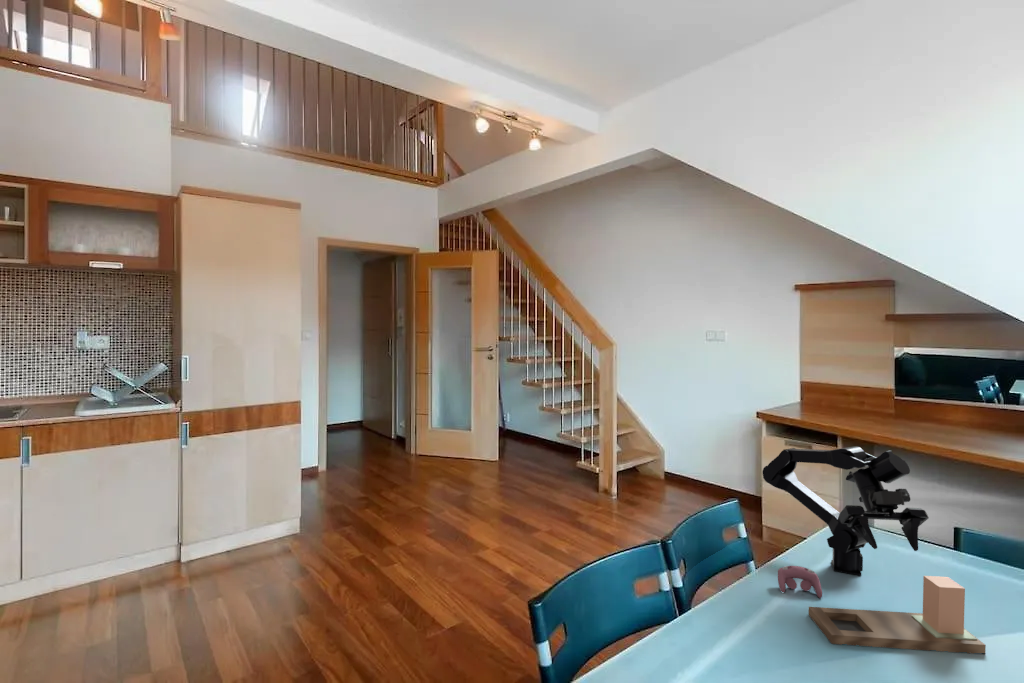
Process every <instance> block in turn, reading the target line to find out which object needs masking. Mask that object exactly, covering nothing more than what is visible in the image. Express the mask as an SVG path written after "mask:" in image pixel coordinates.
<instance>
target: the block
mask: <svg viewBox="0 0 1024 683" xmlns="http://www.w3.org/2000/svg"><path fill="white" fill-rule="evenodd" d="M922 581H923V582H922V585H923V587H922V588H923V589H922V590H923V591H922V592H923V593H922V613H923V620H924V621H925V622H927V623H928V624H929V625H930V626H931V627H932V628H934V629H935V630H936V631H937V632H938V633H954V634H964V628H965V601H966V599H965V598H966V588H965V587H964V586H962V585H961V584H959V583H958V582H956V581H955V580H953V579H952V578H951V577H949V576H938V575H935V576H934V575H923V580H922Z"/></svg>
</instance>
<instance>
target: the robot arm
mask: <svg viewBox="0 0 1024 683" xmlns="http://www.w3.org/2000/svg"><path fill="white" fill-rule="evenodd" d="M797 463H809V464H826V465H829V466H831V467H833V468H838V469H841V470H846V471H847V470H850V471H849V472H848V474H847V475H846V477H845V480H846V481H847V482H851V483H855V486H856V488H857V491H858V493H859V495H860V497H859V498H858V500H859V502H860V503H863V506H864V507H863V506H861V505H852V504H851V505H850V504H847V505H845V506H844V508H842V510H840V512H839V511H838V510H837V509H836V508H834V507H833V506H832V505H831V504H829V503H828V502H827V501H825V500H824V499H822V497H820V496H819V495H817V493H815V492H813V490H811V489H810V488H808V487H807V486H806V485H804V484H803V483H802V482H801V481H799V479H798V477H797V474H796V472H794V471H795V469H796V468H797ZM853 469H857V470H855V471H854V472H853V471H851V470H853ZM910 471H911V470H910V467H909V465H908V463H907V462H906V460H904V459H903V458H902V457H900V456H898V455H896V454H894V452H892V450H886V451H884V452H882V453H881V454H880V455H879V456H874V455H872V454H869V453H867V452H865V450H864V449H862V448H861V447H860V446H849V447H841V448H836V449H835V448H834V449H814V448H813V449H811V448H809V449H808V448H795V447H792V448H785V449H783V450H782V451H780V452H779V454H778V455H777V456H776V457H775V458H774V459H773V460H771V461H770V462H769V463H768V464H767V465H766V466H764V467H763V469H762V479H763V480H764V481H765V482H766V483H768V484H769V485H771V486H772V487H773V488H775V489H779V490H781V491H784V492H787V493H788V494H789V495H791V496H792V497H793V498H794V499H795V500H797V501H798V502H799V503H800V504H801V505H803V506H804V507H806V509H808V510H810V512H812V513H813V514H814V515H815V516H816V517H817V518H819V520H822V521H823V522H824V523H825V524H826V525H827V526H828V528H829V530H830V532H831V534H832V536H830V537H828V538H826V541H827V544H828V547H829V548H832V559H831V566H832V569H833V571H835V572H839V573H845V574H849V575H850V574H851V575H854V576H862V572H863V571H864V570H863V568H864V567H863V566H864V564H863V563H864V560H863V559H864V556H863V554H862V552H861V549H863V548H865V546H866V544H868V545H870V547H871V548H872V549H874V550H877V549H878V545H877V544H878V543H877V541H876V539H875V536H874V534H873V532H872V530H871V529H872V528H870V525H869V520H880V521H881V520H886V521H898V522H899V524H900V525H901V527H900V529H901V530H902V533H903V534H904V536H905V538H906V540H907V541H908V543H909V544H910V547H911V548H912V549H913V551H914V552H918V551H919V533H918V532H919V527H920V526H922V525H923V523H925V522H926V521H927V520H929V516H928V514H927V512H926V510H925V509H923V508H921V507H905V508H904V509H903V510H902V511H901V512H897V511H896V510H897V509H898V508H899V506H901V505H902V506H905V503H908V502H911V495H910V493H909V491H908V490H907V488H896V489H895V490H888V489H887V488H886V489H885V488H884V486H883V484H882V482H883V483H884V484H891V483H893V482H895V481H897V480H899V479H901V478H904V477H905V476H907V475H910V473H911V472H910Z"/></svg>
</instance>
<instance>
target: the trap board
mask: <svg viewBox="0 0 1024 683" xmlns="http://www.w3.org/2000/svg"><path fill="white" fill-rule="evenodd" d="M808 616H809V617H810V619H811V620H812V621H813V622H814V623H815V625H816V626H817V628H818V629H819V630H820V631H821V632H822V634H824V636H825V637H826V639H827V640H828V641H829V642H830V644H832V645H842V644H847V645H846V646H856V645H859V646H861V647H871V646H872V647H873V648H888V649H889V648H890V649H900V650H901V649H902V650H903V649H905V650H918V651H930V650H936V651H935V652H944V651H948V652H947V653H959V652H967V653H966V654H974V653H985V654H986V644H985V643H983V642H982V640H980V639H978V638H977V636H975V635H974V634H972V632H970V631H969V630H967V629H966V628H965V627H964V634H954V633H938V632H937V631H936V630H935V629H934V628H932V627H931V626H930V625H929V624H928V623H927V622H925V621H924V620H923V612H922V613H921V612H906V611H905V612H903V611H901V612H900V611H885V610H870V609H857V608H856V609H854V608H853V609H852V608H839V607H837V608H836V607H821V606H808ZM859 646H858V647H859Z"/></svg>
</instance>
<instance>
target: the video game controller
mask: <svg viewBox="0 0 1024 683" xmlns="http://www.w3.org/2000/svg"><path fill="white" fill-rule="evenodd" d="M795 579H800V580H802V581H801V582H800V589H801V590H802V591H805V592H808V591H810V590H811V588H812V587H813V589H814V591H815V594H816V596H817V597H818V598H819V599H821V598H823V590H822V583H821V581H820V578H819V576H818V574H817V573H816V572H815V571H813V569H809V568H806V567H804V566H799V565H785V566H782V567H779V569H778V570H777V582H778V586H779V588H778V589H779V591H780V592H781V591H782V592H784V593H785V592H786V588H788V589H790V588H791V589H790V590H795V589H796V588H798V583H797V582H796V580H795ZM782 592H781V593H782Z"/></svg>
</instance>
